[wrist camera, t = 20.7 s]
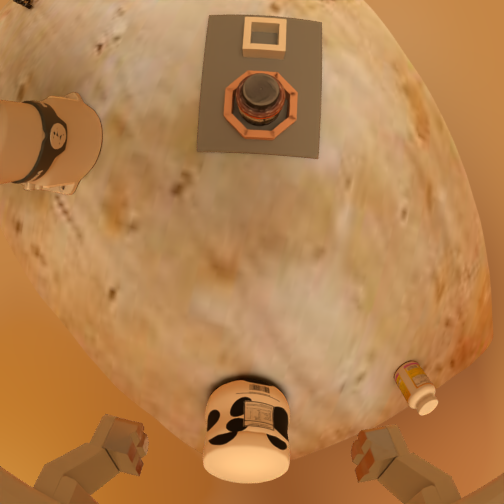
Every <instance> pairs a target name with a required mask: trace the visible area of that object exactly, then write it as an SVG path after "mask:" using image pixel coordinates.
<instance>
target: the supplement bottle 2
mask: <svg viewBox="0 0 504 504" xmlns="http://www.w3.org/2000/svg"><path fill="white" fill-rule="evenodd" d="M394 378H395V381H396V383H397V385H398V387H399V388H400V390H401V392H402V394H403V396H404V397H405V399H406V401H407V403H408V404H409V406H410V407H411V408H414V409H417V411H418V413H419V414H420V415H426V414H428V413H430V412H431V411H432V410H433V409H435V407H436V406H437V404H438V400H437V398H436V397H435V396H434V395H435V387H434V385H433V384H432V383H431V381H430V380H429V378H428V377H427V375H426V374H425V373H424V371H423V370H422V368H421V367H420V366H419V364H418V363H417V362H414V361H410V362H407V363H405V364H403V365H402V366H401V367H400V368H399V369H398V370H397V371H396V373H395V377H394Z"/></svg>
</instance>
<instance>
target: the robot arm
mask: <svg viewBox="0 0 504 504" xmlns="http://www.w3.org/2000/svg"><path fill="white" fill-rule="evenodd" d="M101 143H102V128H101V123H100V120H99V118H98V116H97V114H96V113H95V111H94V110H93V109H92V108H90V107H89V106H87V105H86V104H85V103H84V102H83V101H82V98H81V97H80V95H79V94H78V93H76V92H72V93H70V94H68V95H66V96H64V97H56V96H49V97H48V98H47V99H45V100H43V101H41V102H40V101H24V102H21V103H20V102H13V101H6V100H0V184H4V183H8V182H12V183H20V184H22V185H24V190H34V189H36V190H41V189H43V190H47V191H52V192H56V193H61V194H66V195H71V194H73V193H74V191H75V190H76V188H77V185H78V183H79V181H80V180H81V179H82V178H83V177H84V176H85V175H86V174H87V173H88V172H89V171H90V170H91V168H92V167H93V165H94V164H95V162H96V160H97V157H98V155H99V152H100V148H101ZM64 186H65V189H64ZM143 430H144V426H143V424H142V423H139V422H135V421H130V420H126V419H122V418H119V417H115V416H111V415H108V414H105V415H104V416H103V417H102V419H101V421H100V423H99V425H98V427H97V429H96V431H95V433H94V436H93V437H92V439H91V441H90V443H85V444H83V445H81V446H79V447H77V448H76V449H74V450H72V451H70V452H68V453H67V454H65V455H63V456H61V457H59V458H57V459H55V460H53V461H51V462H49V463H47V464H45V465H44V467H43V469H42V471H41V473H40V475H39V477H38V479H37V481H36V483H35V485H34V487H31V486H29V485H27V484H26V483H24V482H23V481H21V480H20V479H18V478H17V477H15V476H14V475H12V474H11V473H9V472H8V471H6V470H5V469H3V468H2V467H1V466H0V504H98V502H96V501H95V500H94V499H93V498H92V497H91V496H90V495H91V494H93V493H94V492H95V491H97V490H98V489H99V488H100V487H102V486H103V485H104V484H106V483H107V482H108V481H110V480H111V479H112V478H113V477H115V476H116V475H117V474H118V473H119V471H120V472H124V473H128V474H132V475H136V476H140V473H141V470H142V467H143V462H142V460H141V458H142V457H144V456H145V455H146V454H147V451H148V443H149V442H148V437H147V434H145V433H144V432H143ZM357 436H358V439H357V440H356V441H354V443H353V445H352V448H351V457H352V461H353V462H354V463H355V464H356V465H357V467H356V469H355V472H356V476H357V479H358V483H359V482H365V481H370V480H375V479H378V481H379V482H380V483H381V484H383V486H384V487H385V488H387V489H388V490H389V491H390V492H391V493H392V494H393V495H394V496H395V497H397V498H398V499H399V500H400V501H401V502H402V503H404V504H504V473H503V474H501V475H500V476H498V477H497V478H495V479H494V480H492V481H491V482H489V483H487V484H486V485H484V486H483V487H481V488H479V489H478V490H476V491H474V492H472V493H471V494H469V495H467V496H465V497H463V498H461V497H460V494H459V492H458V490H457V488H456V486H455V483H454V481H453V479H452V477H451V476H450V475H448V474H447V473H445V472H443V471H441V470H440V469H438V468H437V467H435V466H433V465H432V464H430V463H429V462H427V461H425V460H424V459H422V458H421V457H419V456H418V455H416V454H415V453H410V452H409V450H408V448H407V445H406V443H405V441H404V438H403V436H402V434H401V432H400V430H399V427H398V426H397V425H396V424H394V425H389V426H382V427H377V428H372V429H366V430H361V431H360V432H359V433H358V435H357Z"/></svg>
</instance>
